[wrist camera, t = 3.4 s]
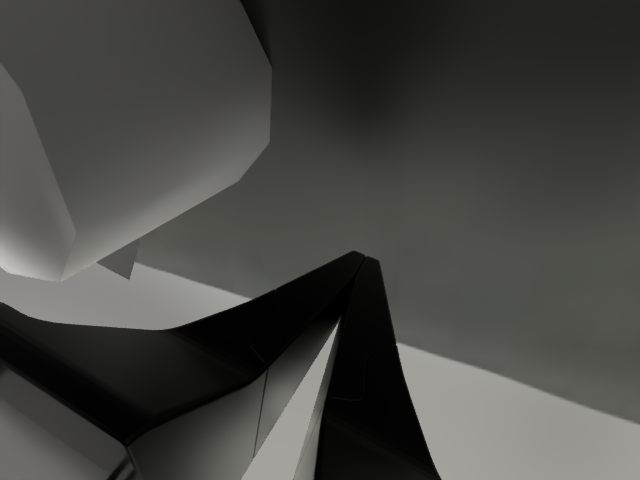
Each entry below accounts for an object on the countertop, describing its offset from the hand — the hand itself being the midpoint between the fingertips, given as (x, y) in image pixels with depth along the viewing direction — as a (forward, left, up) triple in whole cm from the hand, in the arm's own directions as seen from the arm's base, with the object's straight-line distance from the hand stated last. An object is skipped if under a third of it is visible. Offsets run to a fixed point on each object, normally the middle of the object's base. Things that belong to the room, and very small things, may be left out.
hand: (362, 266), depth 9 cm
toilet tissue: (+11, +1, -5) cm, 12 cm away
